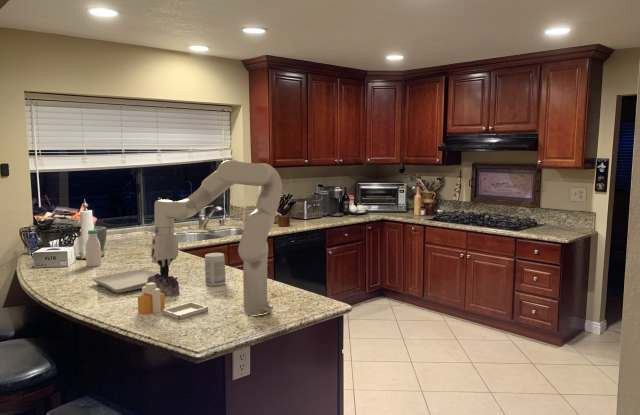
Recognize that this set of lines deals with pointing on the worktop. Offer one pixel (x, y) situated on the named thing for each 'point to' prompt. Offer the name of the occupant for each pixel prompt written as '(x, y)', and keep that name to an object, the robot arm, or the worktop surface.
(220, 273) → the supplement tub
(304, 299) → the worktop surface
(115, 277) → the square plate
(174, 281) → the geode
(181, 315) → the tray
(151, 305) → the orange block
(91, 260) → the milk bottle
